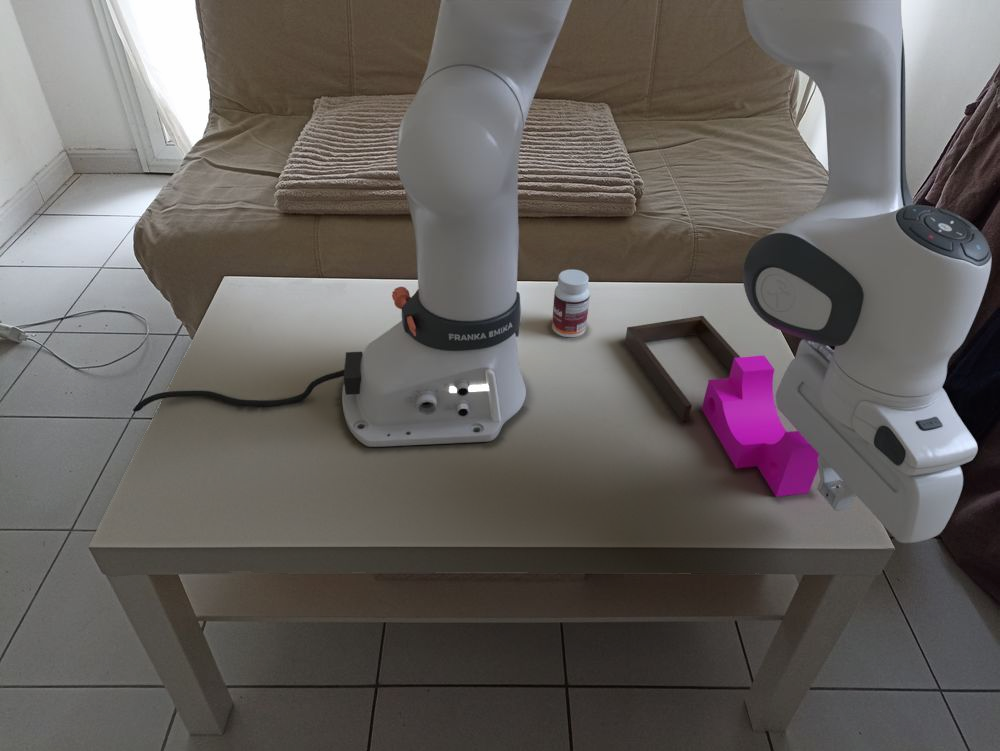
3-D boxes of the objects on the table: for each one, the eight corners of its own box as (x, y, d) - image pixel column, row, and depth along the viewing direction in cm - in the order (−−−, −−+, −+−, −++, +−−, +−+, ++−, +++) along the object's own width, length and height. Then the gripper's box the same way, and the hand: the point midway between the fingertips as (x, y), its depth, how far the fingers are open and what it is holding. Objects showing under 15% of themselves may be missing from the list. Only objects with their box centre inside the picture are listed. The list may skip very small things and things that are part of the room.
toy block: (701, 408, 92) (713, 359, 87) (749, 404, 93) (764, 355, 88) (754, 499, 80) (771, 448, 75) (808, 493, 81) (828, 441, 76)
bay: (682, 422, 90) (686, 405, 88) (624, 342, 103) (627, 327, 101) (766, 406, 92) (771, 390, 91) (699, 330, 105) (702, 315, 104)
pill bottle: (548, 320, 106) (552, 268, 101) (581, 318, 107) (586, 266, 102) (555, 339, 103) (560, 287, 98) (589, 337, 103) (595, 284, 98)
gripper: (778, 331, 73) (748, 436, 82) (929, 477, 58) (872, 588, 66) (834, 322, 74) (798, 426, 83) (995, 461, 59) (931, 572, 68)
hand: (832, 499), depth 74 cm, fingers closed
